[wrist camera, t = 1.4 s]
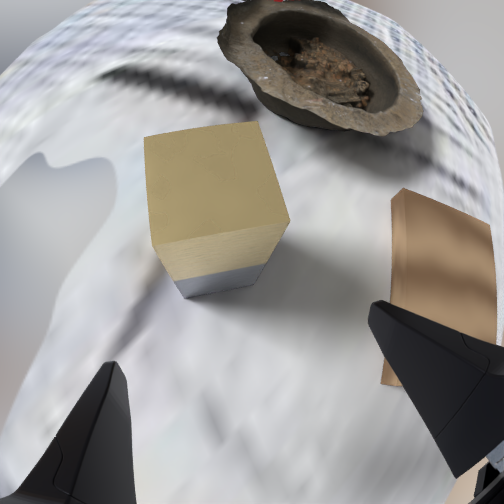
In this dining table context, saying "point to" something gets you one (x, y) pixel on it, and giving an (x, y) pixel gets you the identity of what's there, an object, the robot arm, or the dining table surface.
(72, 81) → the dining table surface
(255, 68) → the stone bowl
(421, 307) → the walnut stand
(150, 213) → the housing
